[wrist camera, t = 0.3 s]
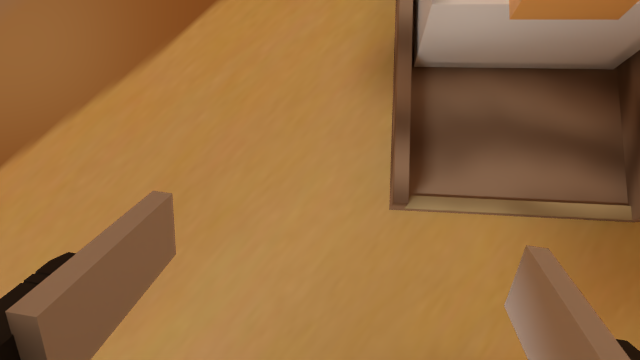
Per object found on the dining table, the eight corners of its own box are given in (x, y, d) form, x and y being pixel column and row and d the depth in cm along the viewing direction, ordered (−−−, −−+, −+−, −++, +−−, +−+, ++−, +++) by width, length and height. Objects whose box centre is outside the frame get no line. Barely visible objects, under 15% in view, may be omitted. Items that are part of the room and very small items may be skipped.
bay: (634, 222, 29) (677, 216, 25) (389, 209, 31) (393, 202, 27) (611, -59, 34) (643, -100, 30) (397, -55, 36) (402, -93, 32)
